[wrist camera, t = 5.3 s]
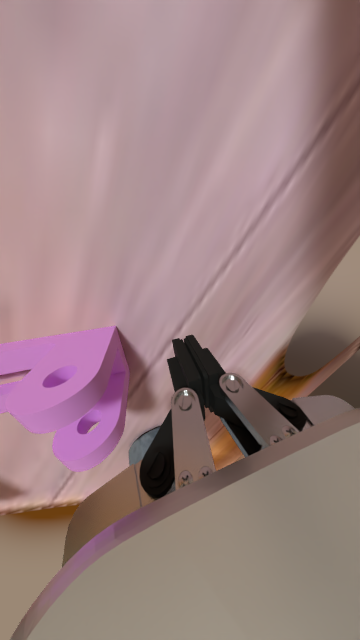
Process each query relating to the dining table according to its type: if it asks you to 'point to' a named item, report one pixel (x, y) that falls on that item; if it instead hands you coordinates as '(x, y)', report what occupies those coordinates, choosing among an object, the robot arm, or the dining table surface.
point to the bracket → (70, 392)
